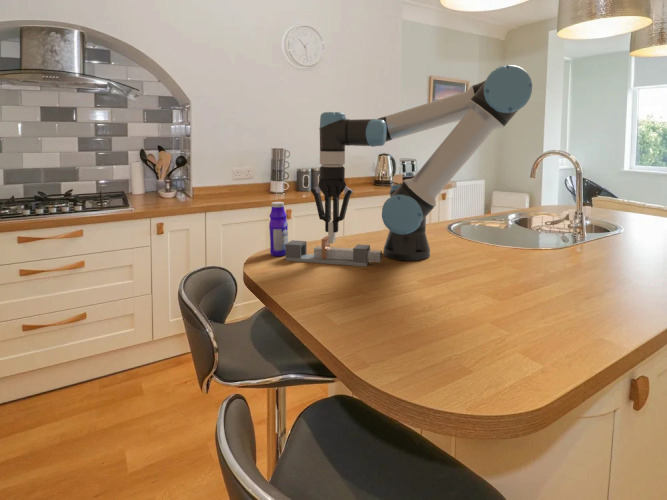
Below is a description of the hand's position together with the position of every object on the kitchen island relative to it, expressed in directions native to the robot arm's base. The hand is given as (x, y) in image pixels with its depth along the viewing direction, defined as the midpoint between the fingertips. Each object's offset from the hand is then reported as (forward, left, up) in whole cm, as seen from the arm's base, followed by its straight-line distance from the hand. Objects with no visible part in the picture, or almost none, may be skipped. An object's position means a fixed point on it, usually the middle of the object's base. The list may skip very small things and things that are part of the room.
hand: (331, 242), depth 147 cm
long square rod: (-5, 0, -5) cm, 7 cm away
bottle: (+19, -4, -6) cm, 21 cm away
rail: (+1, 0, -6) cm, 6 cm away
